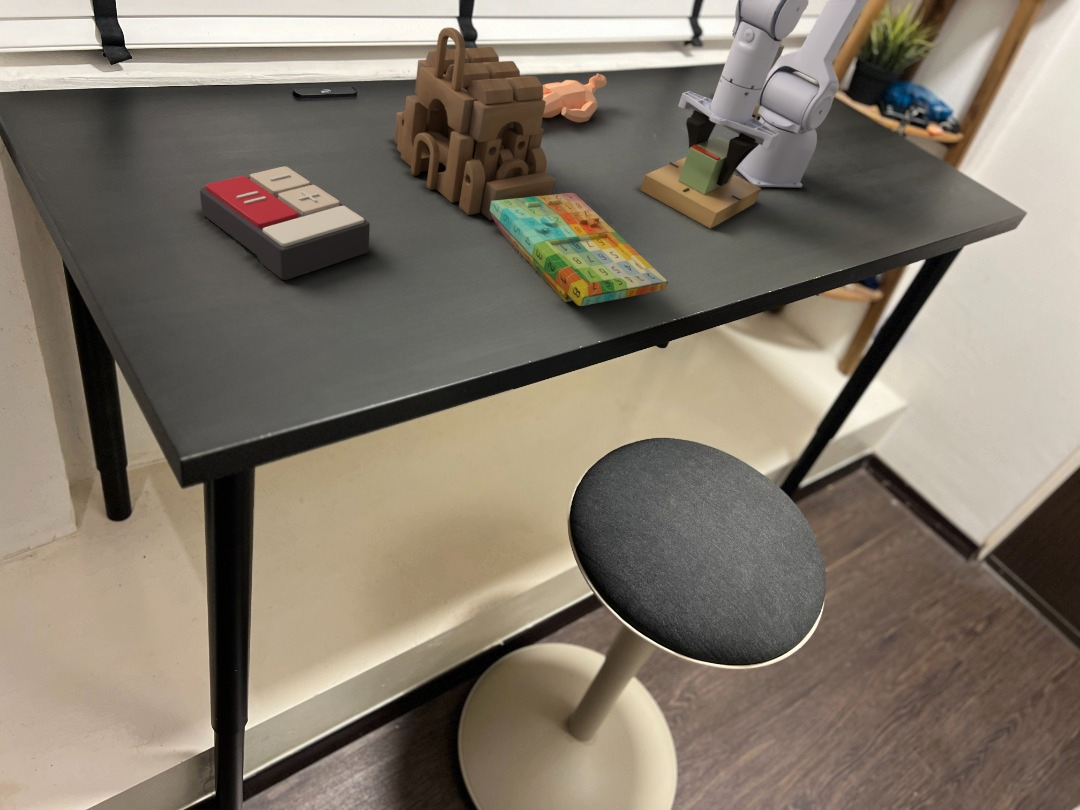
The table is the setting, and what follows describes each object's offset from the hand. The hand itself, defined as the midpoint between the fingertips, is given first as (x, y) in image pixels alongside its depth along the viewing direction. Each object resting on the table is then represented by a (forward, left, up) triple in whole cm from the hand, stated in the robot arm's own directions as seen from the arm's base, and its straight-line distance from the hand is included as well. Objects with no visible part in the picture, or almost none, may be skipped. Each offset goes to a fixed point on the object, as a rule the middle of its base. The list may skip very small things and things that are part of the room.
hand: (706, 175), depth 112 cm
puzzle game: (+28, +17, -4) cm, 33 cm away
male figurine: (+14, -26, -4) cm, 30 cm away
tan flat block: (0, 0, -3) cm, 3 cm away
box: (0, 0, -1) cm, 1 cm away
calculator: (+59, +9, -4) cm, 60 cm away
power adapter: (-43, -49, -4) cm, 65 cm away
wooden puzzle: (+34, -5, -4) cm, 35 cm away
